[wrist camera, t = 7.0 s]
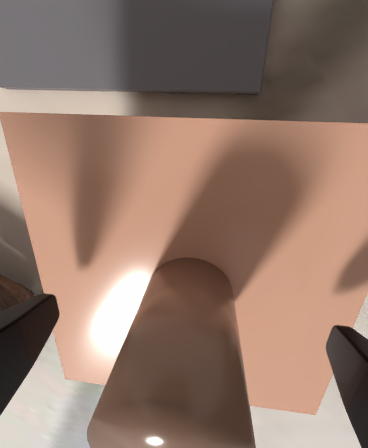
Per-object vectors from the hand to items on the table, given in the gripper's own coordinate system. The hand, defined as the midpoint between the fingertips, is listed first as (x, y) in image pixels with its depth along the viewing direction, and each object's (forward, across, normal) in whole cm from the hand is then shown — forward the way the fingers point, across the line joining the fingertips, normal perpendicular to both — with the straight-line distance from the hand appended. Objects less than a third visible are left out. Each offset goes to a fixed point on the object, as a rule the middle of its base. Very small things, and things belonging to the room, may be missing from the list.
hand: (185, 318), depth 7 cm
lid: (+2, 0, 0) cm, 2 cm away
